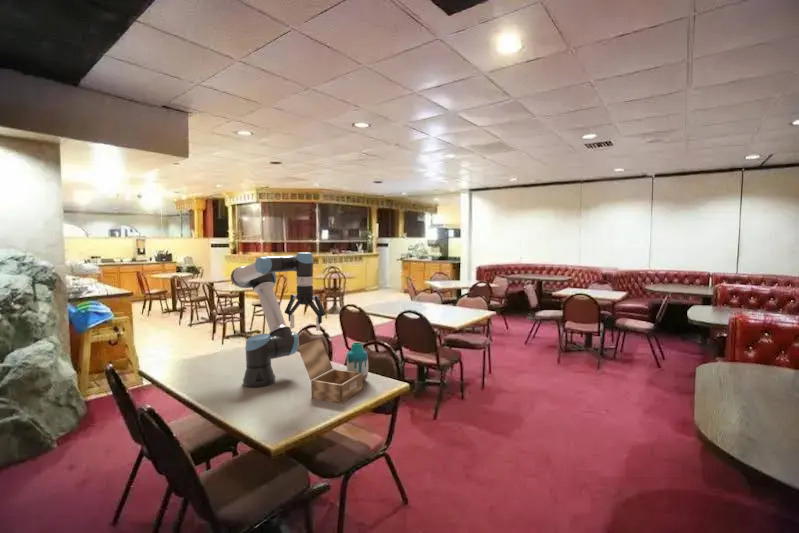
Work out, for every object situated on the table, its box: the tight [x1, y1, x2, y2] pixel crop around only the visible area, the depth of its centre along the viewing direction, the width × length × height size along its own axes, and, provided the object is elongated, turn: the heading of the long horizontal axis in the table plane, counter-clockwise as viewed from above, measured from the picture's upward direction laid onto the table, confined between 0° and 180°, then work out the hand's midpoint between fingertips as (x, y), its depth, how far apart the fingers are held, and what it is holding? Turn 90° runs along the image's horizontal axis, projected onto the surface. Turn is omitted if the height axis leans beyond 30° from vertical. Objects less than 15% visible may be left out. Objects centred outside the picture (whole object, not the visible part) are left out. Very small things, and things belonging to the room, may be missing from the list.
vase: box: [346, 341, 369, 382], centre depth 200 cm, size 11×11×19 cm
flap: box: [297, 337, 334, 381], centre depth 188 cm, size 16×17×1 cm
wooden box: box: [310, 368, 364, 405], centre depth 184 cm, size 16×18×8 cm
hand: (305, 329), depth 193 cm, fingers open, 13 cm apart
